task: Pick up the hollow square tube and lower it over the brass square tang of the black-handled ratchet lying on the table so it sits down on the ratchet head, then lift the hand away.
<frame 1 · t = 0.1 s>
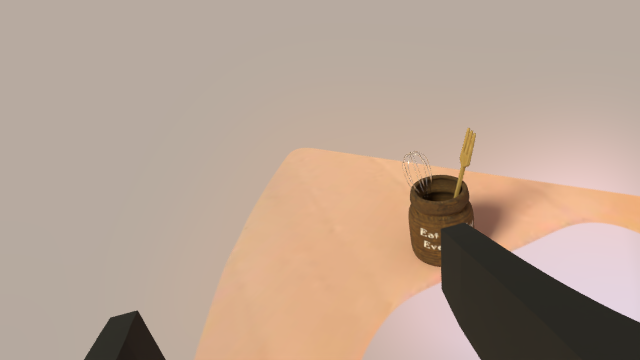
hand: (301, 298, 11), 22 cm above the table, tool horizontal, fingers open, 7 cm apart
utensil holder: (444, 250, 44), on the table
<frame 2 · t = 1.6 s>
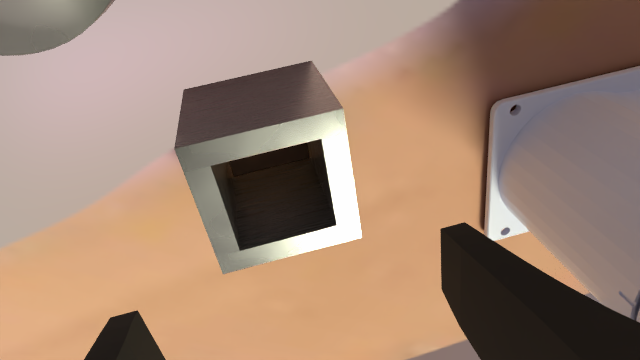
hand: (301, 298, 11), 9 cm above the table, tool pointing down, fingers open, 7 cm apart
hollow square tube: (263, 132, 18), on the table
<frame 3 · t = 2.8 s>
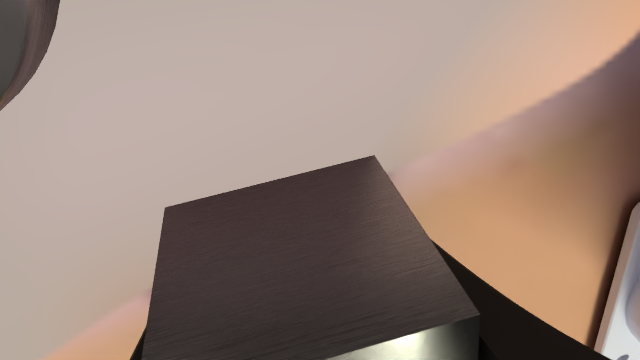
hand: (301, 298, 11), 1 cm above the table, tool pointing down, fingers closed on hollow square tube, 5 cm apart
hollow square tube: (292, 259, 12), on the table, touching gripper
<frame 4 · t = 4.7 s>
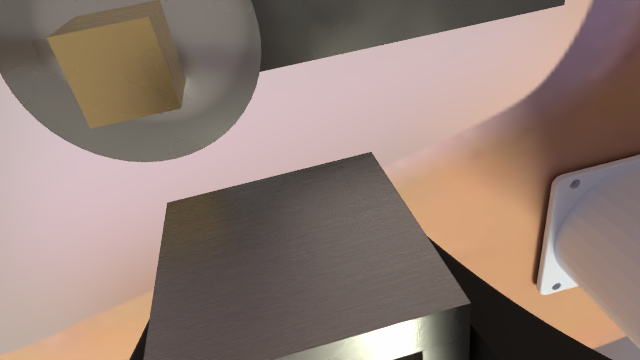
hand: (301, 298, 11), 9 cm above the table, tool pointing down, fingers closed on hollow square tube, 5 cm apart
hollow square tube: (291, 254, 12), point 7 cm above the table, touching gripper
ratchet: (141, 35, 15), on the table
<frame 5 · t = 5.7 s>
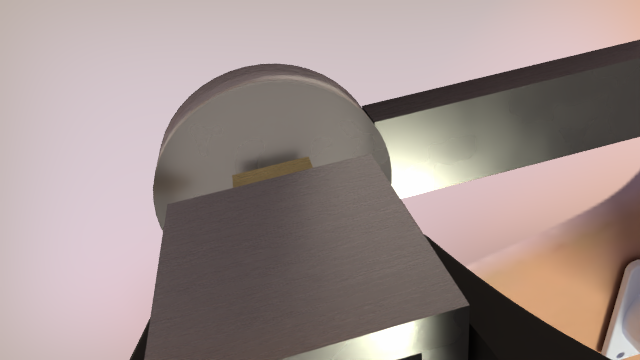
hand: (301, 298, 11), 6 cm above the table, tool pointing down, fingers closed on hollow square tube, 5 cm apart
hollow square tube: (291, 254, 12), point 5 cm above the table, touching gripper
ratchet: (272, 170, 16), on the table
when the fingers open (4 cm above the table, at t = 6.6 s): hollow square tube stays where it is, resting on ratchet.
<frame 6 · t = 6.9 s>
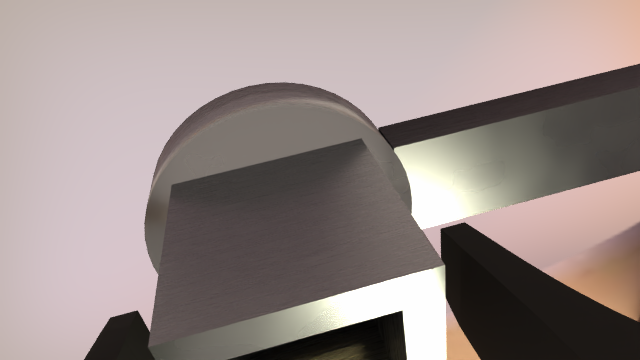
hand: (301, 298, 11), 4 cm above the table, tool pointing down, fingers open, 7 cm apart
hollow square tube: (287, 235, 13), point 2 cm above the table, touching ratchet
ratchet: (278, 197, 14), on the table
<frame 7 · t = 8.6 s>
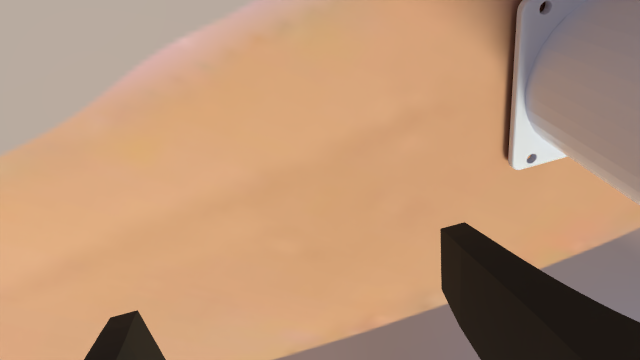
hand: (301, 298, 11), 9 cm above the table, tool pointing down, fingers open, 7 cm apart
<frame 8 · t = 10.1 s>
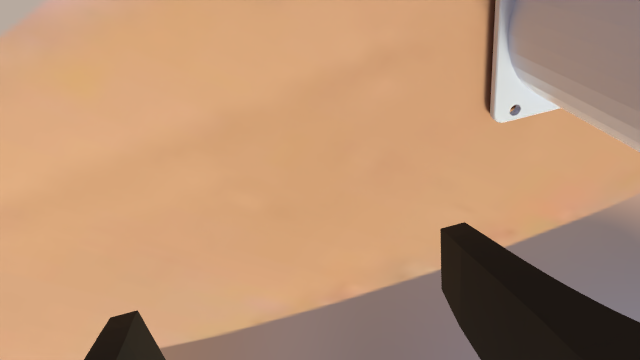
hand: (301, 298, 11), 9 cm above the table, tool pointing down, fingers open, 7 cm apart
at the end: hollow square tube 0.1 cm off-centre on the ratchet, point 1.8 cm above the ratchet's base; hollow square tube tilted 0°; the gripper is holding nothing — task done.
